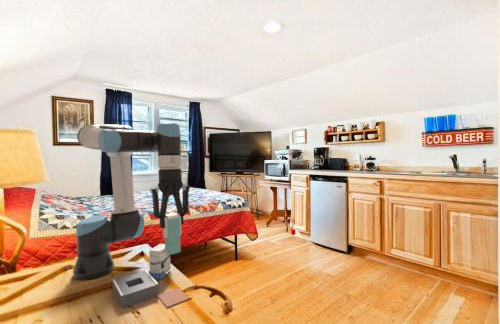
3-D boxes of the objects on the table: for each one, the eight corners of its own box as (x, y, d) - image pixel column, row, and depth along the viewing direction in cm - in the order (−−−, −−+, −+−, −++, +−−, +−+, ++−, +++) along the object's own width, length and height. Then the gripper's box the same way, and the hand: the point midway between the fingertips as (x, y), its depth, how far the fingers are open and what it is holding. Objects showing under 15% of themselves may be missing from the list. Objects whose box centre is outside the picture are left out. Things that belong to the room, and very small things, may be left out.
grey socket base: (112, 291, 96) (112, 279, 95) (146, 280, 103) (146, 269, 103) (121, 308, 85) (121, 295, 84) (158, 295, 92) (158, 283, 92)
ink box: (160, 280, 103) (159, 251, 102) (149, 279, 104) (148, 250, 103) (171, 270, 111) (170, 243, 111) (160, 270, 112) (159, 243, 112)
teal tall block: (165, 251, 90) (163, 214, 90) (176, 248, 93) (175, 212, 92) (169, 254, 87) (168, 216, 87) (180, 251, 89) (179, 214, 89)
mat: (157, 296, 91) (157, 295, 91) (181, 287, 97) (181, 286, 97) (166, 308, 84) (166, 306, 84) (192, 298, 90) (192, 296, 90)
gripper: (147, 170, 81) (150, 244, 81) (197, 167, 91) (199, 233, 92) (140, 169, 87) (143, 238, 87) (188, 166, 97) (190, 228, 98)
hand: (172, 235), depth 90 cm, fingers closed on teal tall block, 4 cm apart
